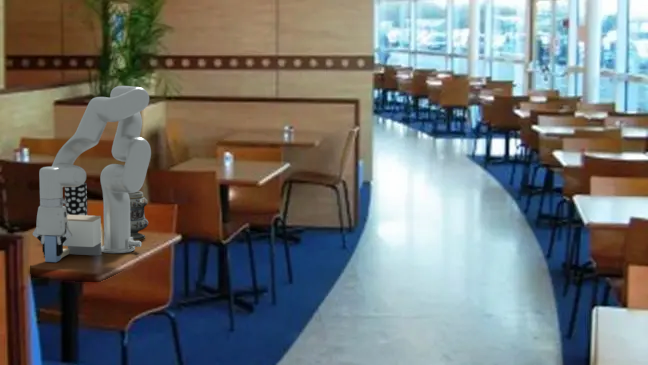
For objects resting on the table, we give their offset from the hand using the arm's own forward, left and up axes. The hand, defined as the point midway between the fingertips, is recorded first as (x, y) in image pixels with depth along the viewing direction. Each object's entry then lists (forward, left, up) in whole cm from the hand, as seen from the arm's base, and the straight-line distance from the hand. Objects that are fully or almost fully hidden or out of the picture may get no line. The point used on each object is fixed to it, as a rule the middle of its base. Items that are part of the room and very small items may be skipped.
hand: (52, 254), depth 338 cm
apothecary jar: (-13, -45, -3) cm, 47 cm away
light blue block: (0, -5, -2) cm, 5 cm away
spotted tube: (+11, -48, -3) cm, 49 cm away
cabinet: (-6, -9, -2) cm, 12 cm away
